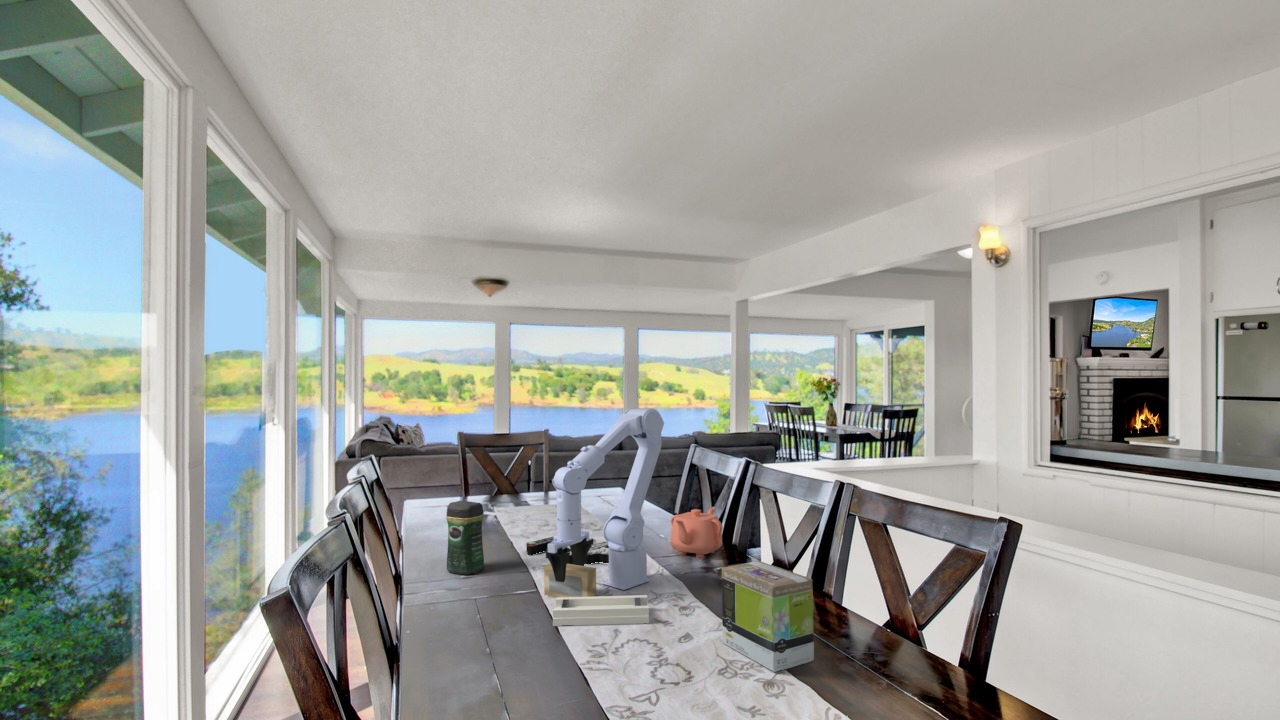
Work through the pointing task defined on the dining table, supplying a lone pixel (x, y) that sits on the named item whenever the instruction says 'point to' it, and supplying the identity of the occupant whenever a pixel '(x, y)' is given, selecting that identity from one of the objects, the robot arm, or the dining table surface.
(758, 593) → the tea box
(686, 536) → the teapot
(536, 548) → the sign
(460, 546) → the coffee jar
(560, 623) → the cream rectangular frame
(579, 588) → the beige rectangular panel
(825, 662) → the dining table surface
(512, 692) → the dining table surface
